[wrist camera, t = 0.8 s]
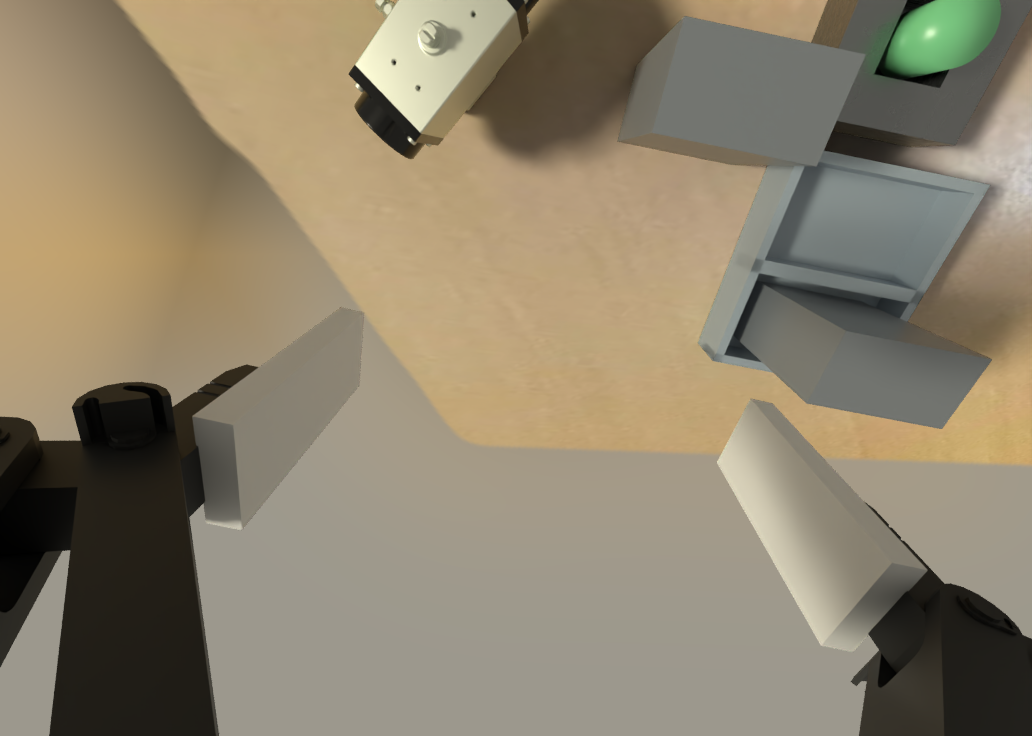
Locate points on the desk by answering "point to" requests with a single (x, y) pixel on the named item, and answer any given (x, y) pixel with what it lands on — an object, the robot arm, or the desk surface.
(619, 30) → the desk surface
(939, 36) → the button
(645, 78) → the block
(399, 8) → the pneumatic valve
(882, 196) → the divided tray
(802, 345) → the block
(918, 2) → the grey square block
